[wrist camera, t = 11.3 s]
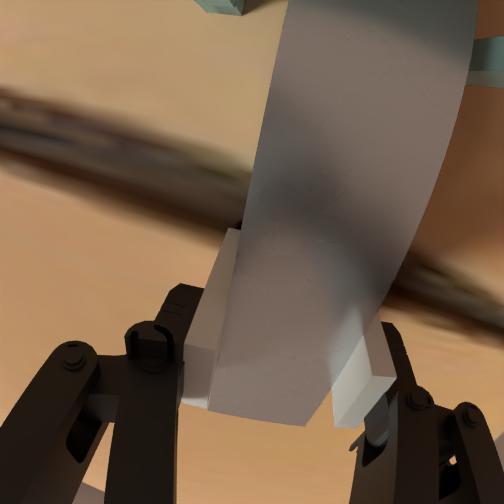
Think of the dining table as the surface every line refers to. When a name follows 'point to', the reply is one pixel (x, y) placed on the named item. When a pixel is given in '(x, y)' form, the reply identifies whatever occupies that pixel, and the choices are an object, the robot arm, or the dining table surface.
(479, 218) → the dining table surface
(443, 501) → the robot arm
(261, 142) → the grey bar
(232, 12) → the bridge
